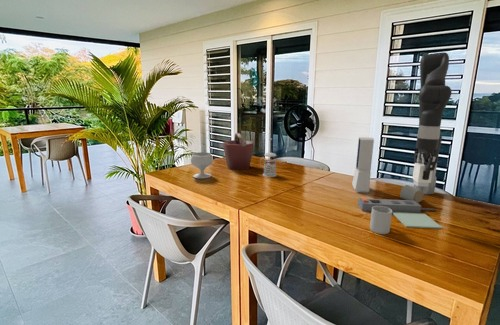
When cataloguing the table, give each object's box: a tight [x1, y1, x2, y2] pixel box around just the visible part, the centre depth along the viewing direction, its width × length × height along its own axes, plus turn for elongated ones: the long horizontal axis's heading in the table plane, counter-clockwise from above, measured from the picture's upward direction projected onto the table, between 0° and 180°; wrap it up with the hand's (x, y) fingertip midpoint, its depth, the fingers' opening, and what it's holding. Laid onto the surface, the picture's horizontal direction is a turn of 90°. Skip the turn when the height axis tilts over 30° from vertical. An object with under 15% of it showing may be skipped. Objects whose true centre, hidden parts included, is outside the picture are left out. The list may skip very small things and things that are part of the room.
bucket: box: [222, 132, 254, 171], centre depth 208 cm, size 24×22×25 cm
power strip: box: [357, 198, 436, 213], centre depth 133 cm, size 34×7×4 cm, turn 85°
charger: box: [412, 163, 433, 187], centre depth 117 cm, size 5×5×9 cm
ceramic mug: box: [399, 184, 424, 204], centre depth 144 cm, size 11×8×8 cm
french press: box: [259, 137, 278, 178], centre depth 188 cm, size 10×12×25 cm
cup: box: [369, 206, 393, 235], centre depth 113 cm, size 7×10×9 cm
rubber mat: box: [392, 212, 443, 229], centre depth 122 cm, size 14×14×1 cm
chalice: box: [190, 151, 214, 180], centre depth 184 cm, size 14×14×15 cm
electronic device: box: [352, 136, 375, 194], centre depth 158 cm, size 12×8×30 cm, turn 168°
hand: (421, 177), depth 118 cm, fingers closed on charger, 5 cm apart
